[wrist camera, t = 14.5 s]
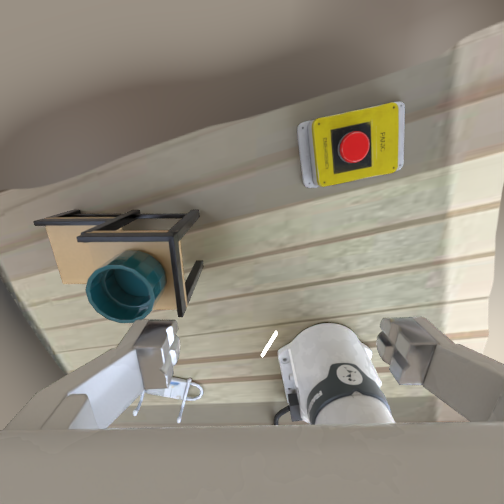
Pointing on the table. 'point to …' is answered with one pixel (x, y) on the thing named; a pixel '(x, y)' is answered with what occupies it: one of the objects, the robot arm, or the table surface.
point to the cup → (126, 286)
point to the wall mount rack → (173, 393)
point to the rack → (122, 249)
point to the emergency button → (352, 145)
